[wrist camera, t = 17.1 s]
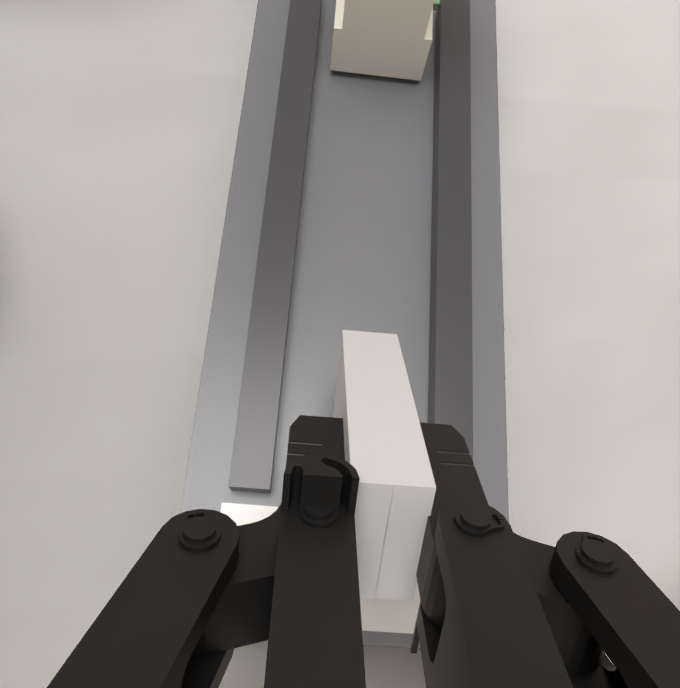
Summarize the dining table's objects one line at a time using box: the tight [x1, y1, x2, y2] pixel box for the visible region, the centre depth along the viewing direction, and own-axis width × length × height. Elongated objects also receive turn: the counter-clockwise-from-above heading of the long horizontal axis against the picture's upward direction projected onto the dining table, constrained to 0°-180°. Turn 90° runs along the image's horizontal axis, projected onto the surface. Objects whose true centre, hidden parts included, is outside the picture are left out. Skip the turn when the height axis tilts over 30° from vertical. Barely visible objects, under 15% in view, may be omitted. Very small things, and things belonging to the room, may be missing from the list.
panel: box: [180, 0, 509, 649], centre depth 23 cm, size 10×28×3 cm, turn 176°
